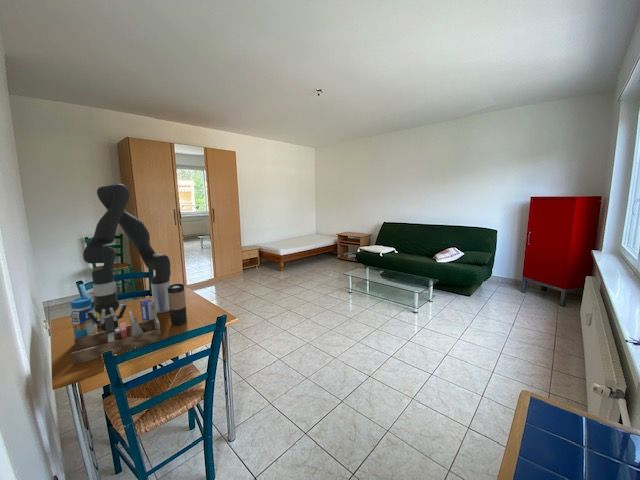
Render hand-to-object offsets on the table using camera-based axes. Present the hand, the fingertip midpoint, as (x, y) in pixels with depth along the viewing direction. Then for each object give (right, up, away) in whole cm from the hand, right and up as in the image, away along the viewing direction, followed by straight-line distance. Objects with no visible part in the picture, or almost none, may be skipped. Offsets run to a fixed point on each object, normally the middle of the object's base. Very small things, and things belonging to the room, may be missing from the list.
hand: (110, 329), depth 117 cm
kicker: (+2, -7, +3) cm, 8 cm away
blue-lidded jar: (-15, -7, +6) cm, 18 cm away
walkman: (+3, -4, +24) cm, 24 cm away
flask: (+7, -7, +7) cm, 12 cm away
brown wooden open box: (+2, -8, +3) cm, 9 cm away
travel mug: (+18, -4, +23) cm, 30 cm away
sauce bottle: (-20, -5, +21) cm, 29 cm away
